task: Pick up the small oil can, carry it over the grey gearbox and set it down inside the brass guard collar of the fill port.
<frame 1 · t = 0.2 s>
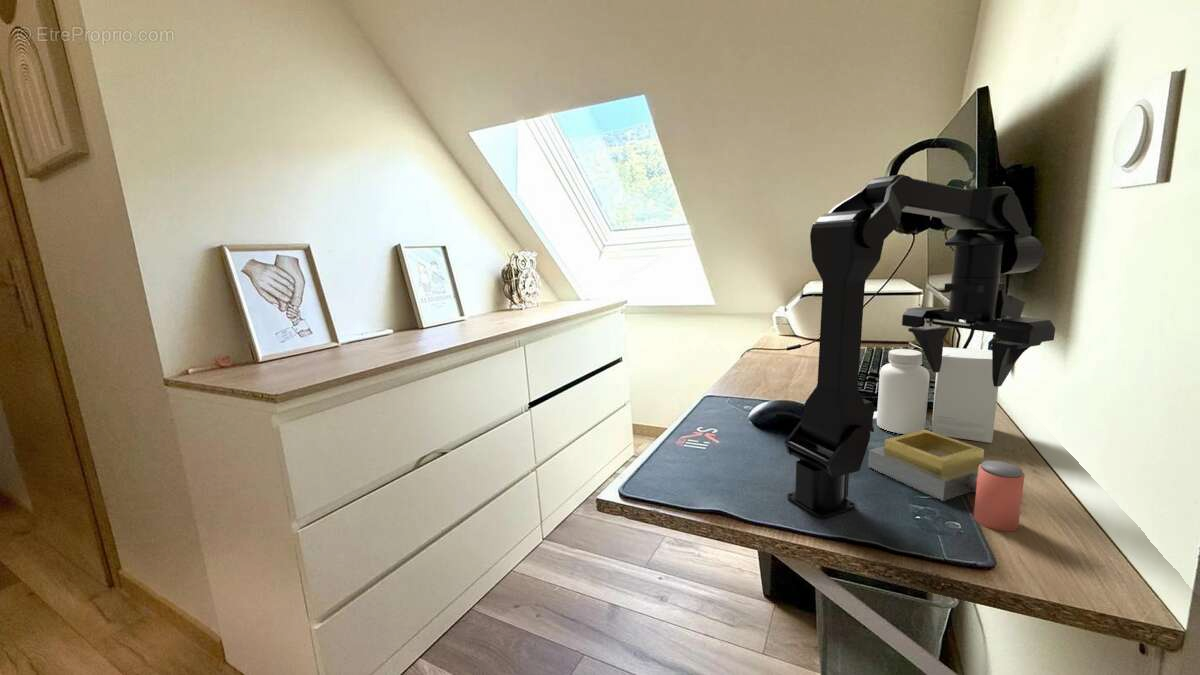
hand: (965, 378, 76), 14 cm above the table, tool pointing down, fingers open, 9 cm apart
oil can: (995, 521, 64), on the table
supplement box: (960, 432, 92), on the table
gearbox: (930, 474, 76), on the table
pill bottle: (900, 429, 95), on the table
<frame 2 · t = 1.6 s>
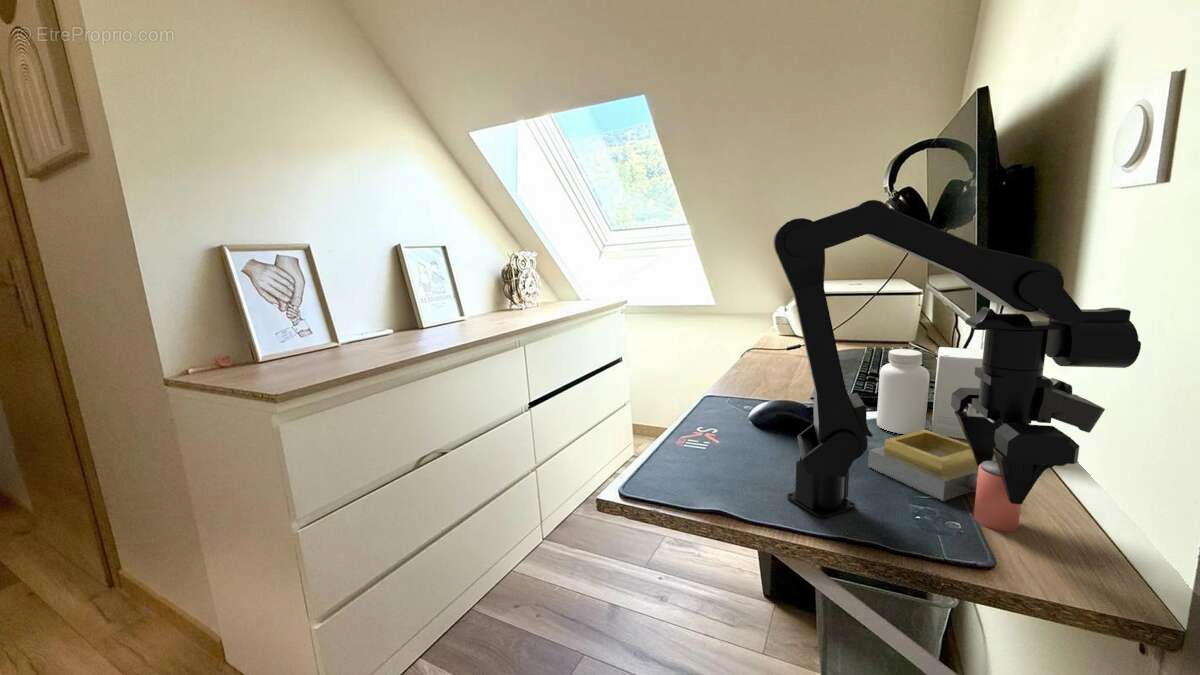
hand: (998, 485, 63), 5 cm above the table, tool pointing down, fingers open, 9 cm apart
nothing on the table moved.
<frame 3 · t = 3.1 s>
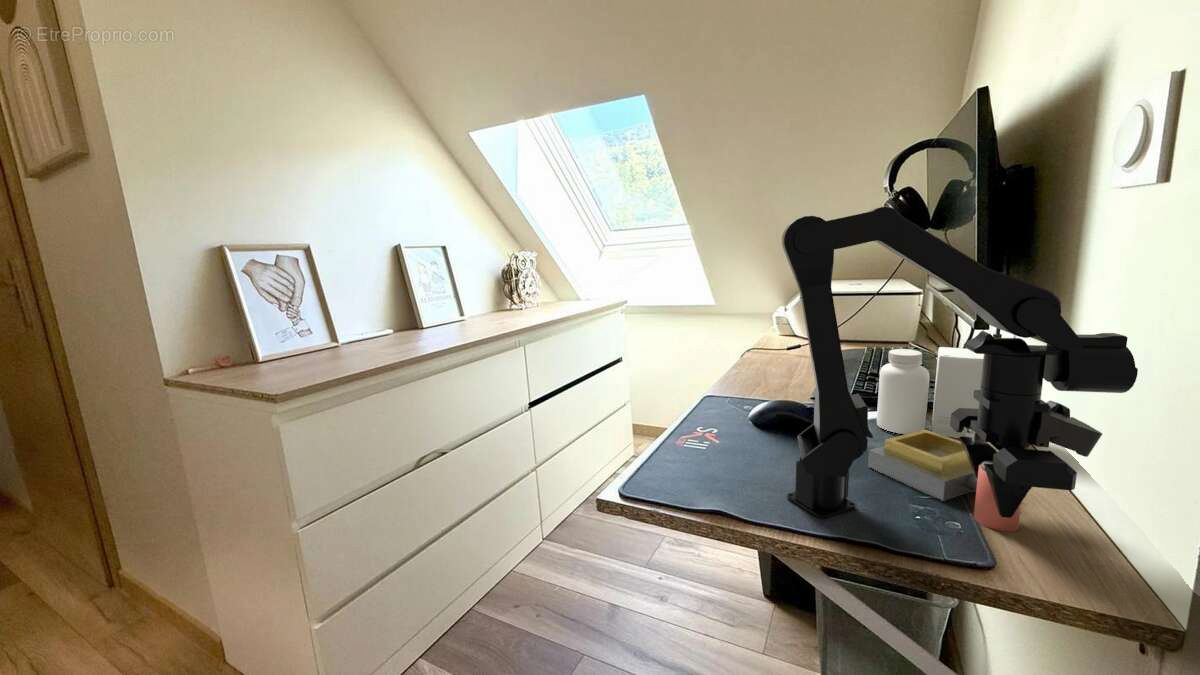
hand: (997, 506, 63), 2 cm above the table, tool pointing down, fingers closed on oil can, 4 cm apart
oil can: (995, 521, 64), on the table, touching gripper
everything else where it was.
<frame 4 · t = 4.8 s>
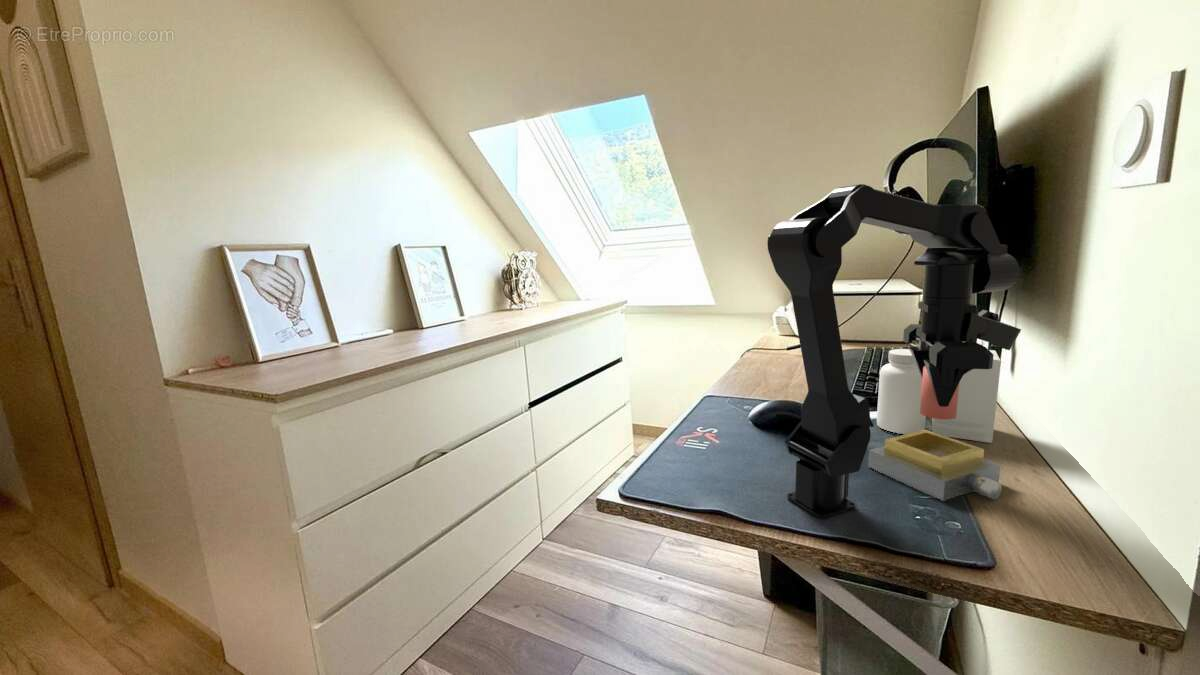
hand: (938, 401, 74), 12 cm above the table, tool pointing down, fingers closed on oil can, 4 cm apart
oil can: (937, 414, 74), point 10 cm above the table, touching gripper
everything else where it was.
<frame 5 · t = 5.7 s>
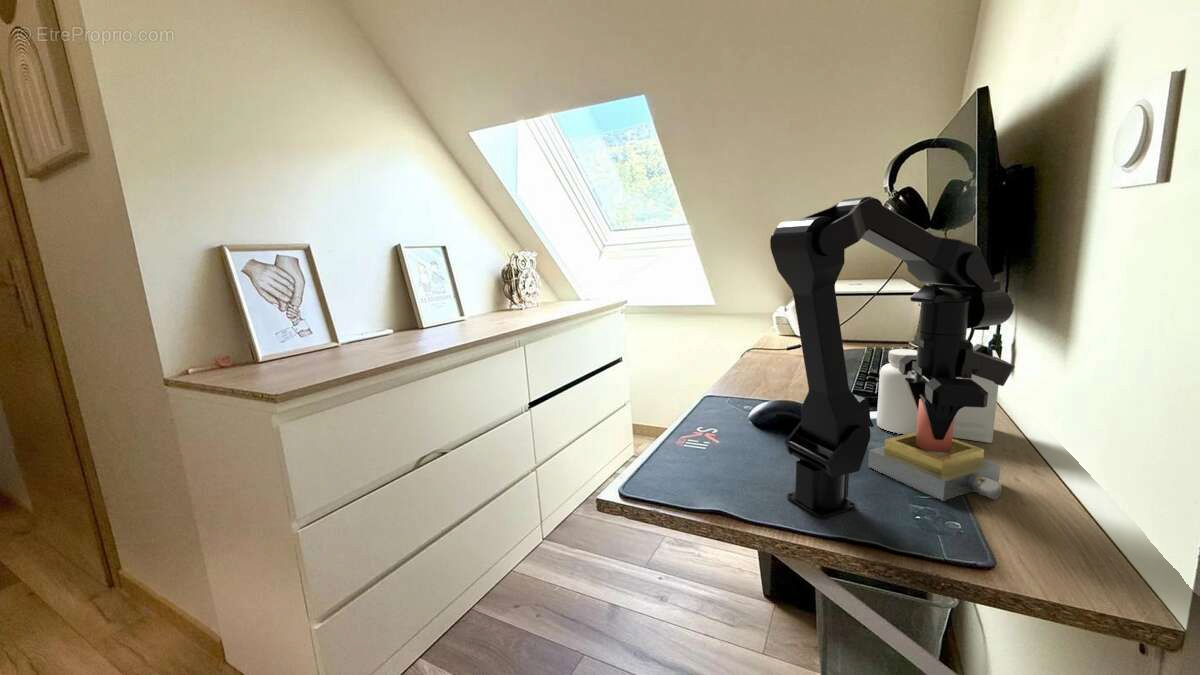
hand: (933, 433, 75), 7 cm above the table, tool pointing down, fingers closed on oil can, 4 cm apart
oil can: (933, 446, 76), point 5 cm above the table, touching gripper
everything else where it was.
when the fingers open (6 cm above the table, at t = 6.5 s): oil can drops 1 cm, resting on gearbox.
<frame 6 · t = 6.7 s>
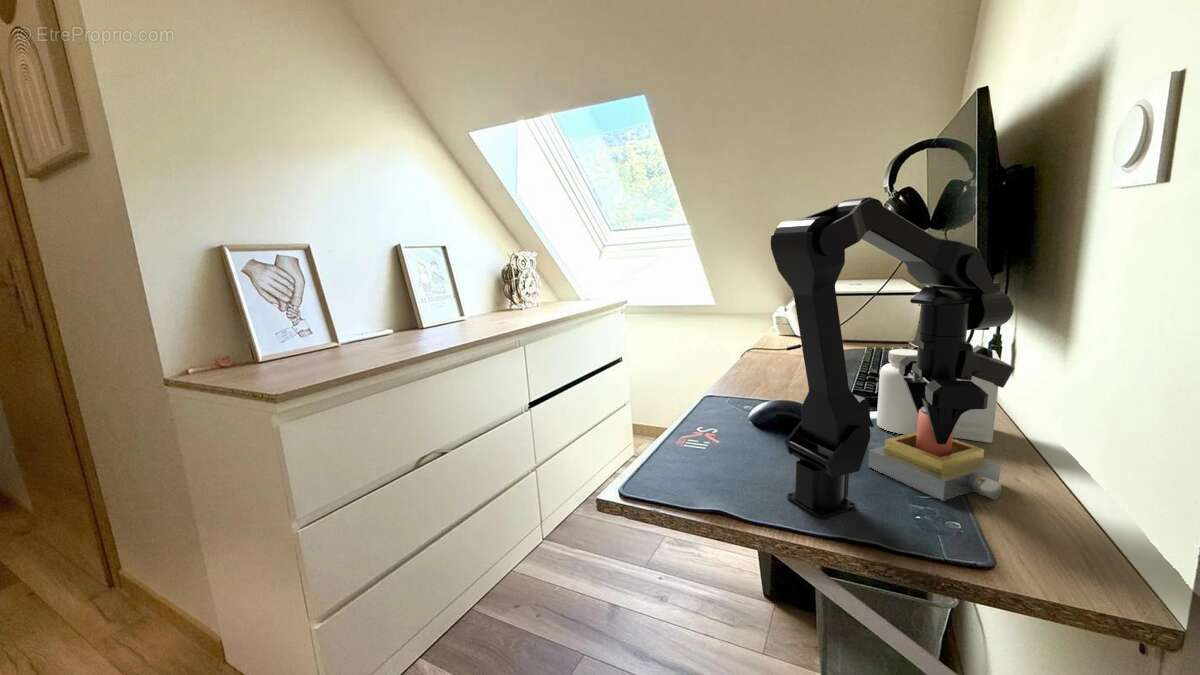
hand: (933, 434, 75), 6 cm above the table, tool pointing down, fingers open, 7 cm apart
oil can: (932, 456, 76), point 3 cm above the table, touching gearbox
everything else where it was.
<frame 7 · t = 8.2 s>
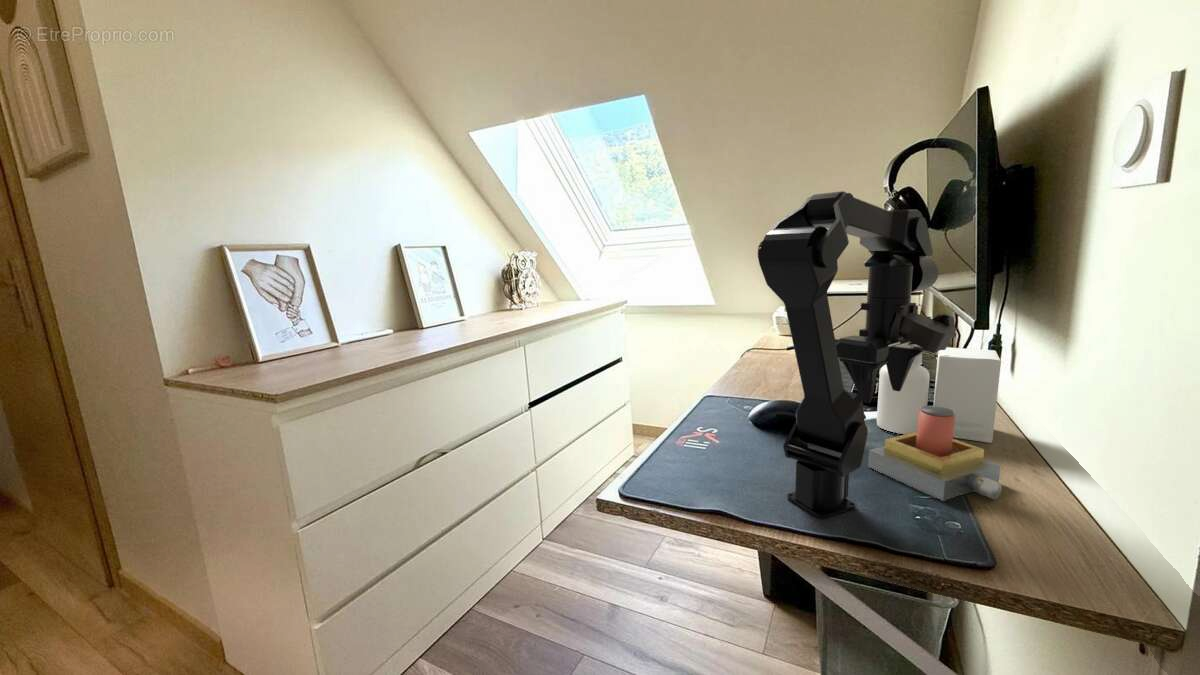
hand: (882, 396, 78), 12 cm above the table, tool pointing down, fingers open, 9 cm apart
nothing on the table moved.
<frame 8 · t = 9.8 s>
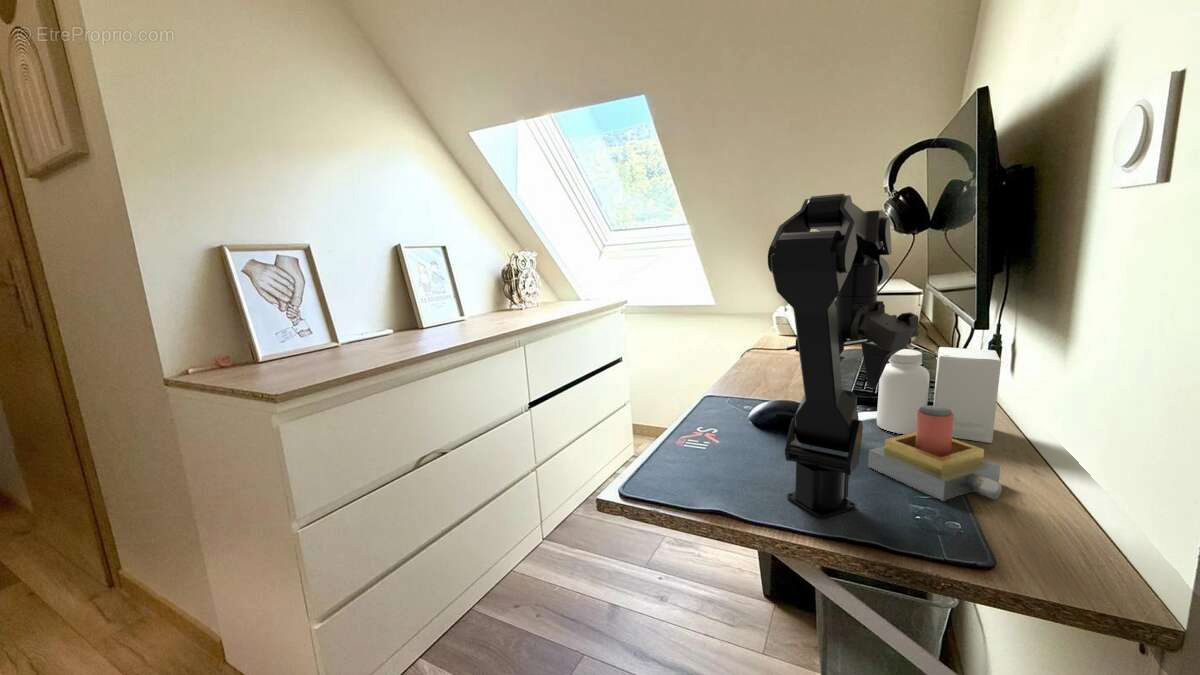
hand: (851, 391, 80), 12 cm above the table, tool pointing down, fingers open, 9 cm apart
nothing on the table moved.
at the end: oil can 0.1 cm off-centre on the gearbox, point 3.0 cm above the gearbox's base; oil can tilted 1°; the gripper is holding nothing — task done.
